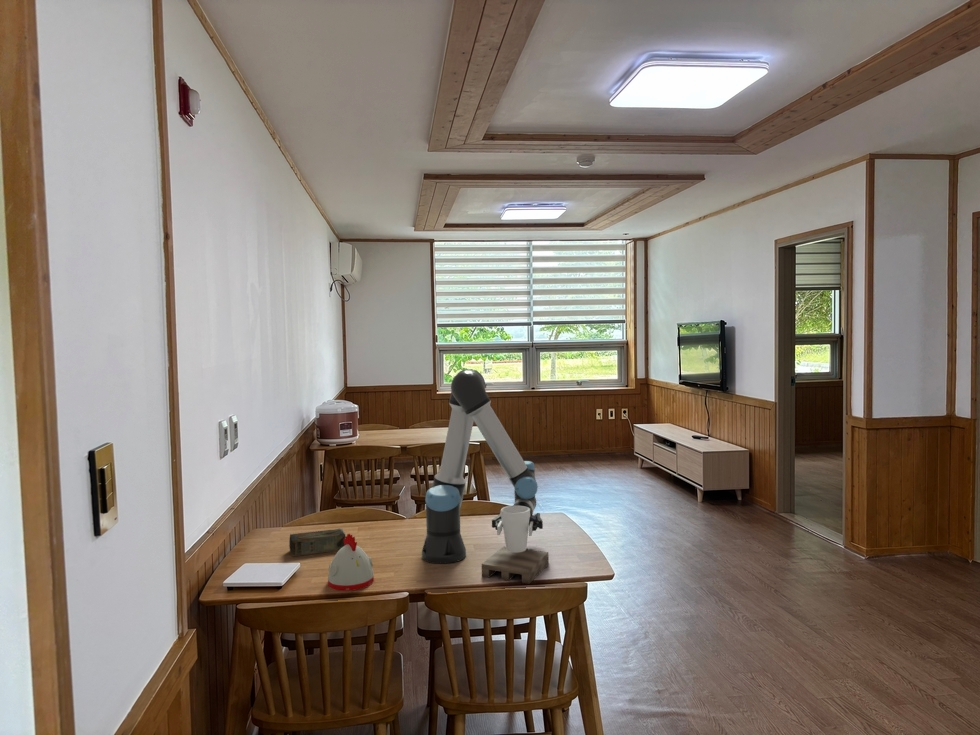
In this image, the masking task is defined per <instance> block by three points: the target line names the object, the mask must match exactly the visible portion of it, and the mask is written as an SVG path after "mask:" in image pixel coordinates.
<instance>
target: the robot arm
mask: <svg viewBox="0 0 980 735" xmlns="http://www.w3.org/2000/svg"><path fill="white" fill-rule="evenodd" d="M450 383H451V385H450V396H449V401H448V404H449V405H450V407H451V413H450V417H449V423H448V428H447V432H446V438H445V444H444V448H443V453H442V459H441V462H440V463H441V464H440V470H439V472H438V473H436V474H435V475H434V477H433V483H432V487H430V488H429V489H427V491H426V493H425V497H424V498H425V499H424V500H425V501H424V502H425V507H426V508H425V514H426V516H425V517H426V518H425V519H426V523H425V524H426V536H425V539H424V543H423V547H422V549H421V559H422V560H424V561H426V562H428V563H431V564H451V563H456V562H459V561H461V560H463V559H465V558H466V555H467V552H466V551H467V549H466V545H465V543H464V539H463V537H462V534H461V507H462V503H463V501H464V500H463V499H464V492H465V487H466V484H467V483H466V482H467V481H466V480H465V478H464V477H463V476H464V472H465V465H466V461H467V456H468V452H469V451H468V450H469V446H470V442H471V441H470V440H471V437H472V431H473V426H474V424H475V425H476V427H477V428H478V430H479V431H480V433H481V435H482V436H483V439H484V440H485V442H486V444H487V445H488V446H489V448H490V450H491V451H492V453H493V454H494V456H495V458H496V459H497V461H498V463H499V464H500V466H501V468H502V469H503V471H504V473H505V474H506V476H507V478H508V479H509V481H510V483H511V485H512V486H513V488H514V489H513V490H514V502H513V505H512V506H517V505H519V506H526V507H529V508H530V519H529V528H528V536H529V537H532V535H533V533H534V531H535V532H536V531H537V530H538V529H540V530H541V529H542V530H543V529H544V528H543V527H544V524H543V519H542V518H541V513H540V512H537V513H535V514H534V511H535V509H536V507H537V498H536V494H537V492H538V488H539V486H538V482H537V480H536V477H535V476H536V474H535V473H536V471H535V470H536V469H535V463H534V462H533V461H531V460H524V459H523V456H522V455H521V454H520V452H519V450H518V449H517V448H516V445H515V444H514V443H513V441H512V438H510V436H509V434H508V433H507V431H506V429H505V426H504V425H503V424H502V423H501V421H500V419H499V417H498V416H497V414H496V413H495V411H494V409H493V408H492V406H491V402H492V400H491V399H490V397H489V395H488V393H487V391H486V382H485V378H484V377H483V375H482V374H481V372H479V371H477V370H475V369H470V368H465V369H462V370H460V371H459V372H458V373H456V374H455V376H454V377H453V378H452V381H451V382H450ZM491 528H495V530H496V533H497V534H496V535H497V536H500V535H501V533H502V531H503V524H502V518H501V512H500V513H499V514H498V515H497V516H495V517H494V518H493V519H491Z"/></svg>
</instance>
